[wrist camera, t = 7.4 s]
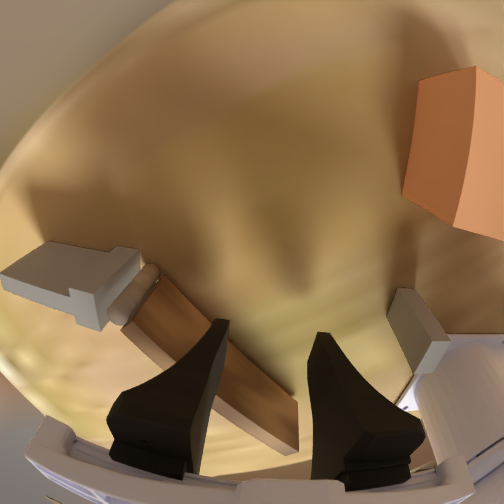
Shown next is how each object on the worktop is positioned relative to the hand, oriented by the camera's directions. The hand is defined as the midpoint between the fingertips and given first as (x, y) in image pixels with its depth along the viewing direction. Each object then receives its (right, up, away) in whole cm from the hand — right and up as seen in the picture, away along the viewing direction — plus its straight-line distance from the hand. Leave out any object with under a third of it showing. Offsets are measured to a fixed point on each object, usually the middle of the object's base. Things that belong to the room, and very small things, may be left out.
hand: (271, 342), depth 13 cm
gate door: (-2, -1, +3) cm, 4 cm away
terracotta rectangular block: (+9, +10, -2) cm, 13 cm away
